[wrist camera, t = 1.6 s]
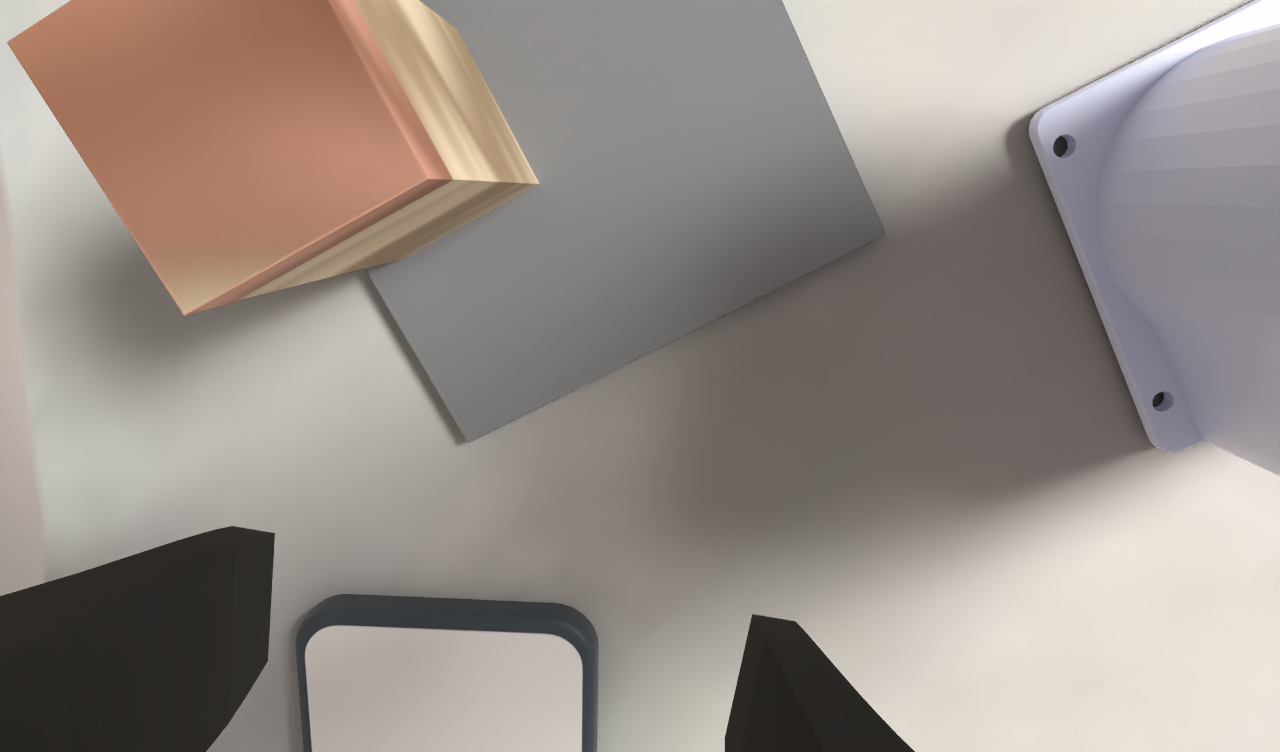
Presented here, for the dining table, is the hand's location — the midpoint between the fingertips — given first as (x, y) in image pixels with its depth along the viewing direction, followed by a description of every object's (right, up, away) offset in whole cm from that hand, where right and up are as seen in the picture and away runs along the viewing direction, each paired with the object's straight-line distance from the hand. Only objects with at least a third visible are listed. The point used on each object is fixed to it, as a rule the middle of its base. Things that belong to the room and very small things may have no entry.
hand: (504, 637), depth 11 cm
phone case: (-4, -10, +14) cm, 18 cm away
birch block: (-3, +9, +8) cm, 13 cm away
